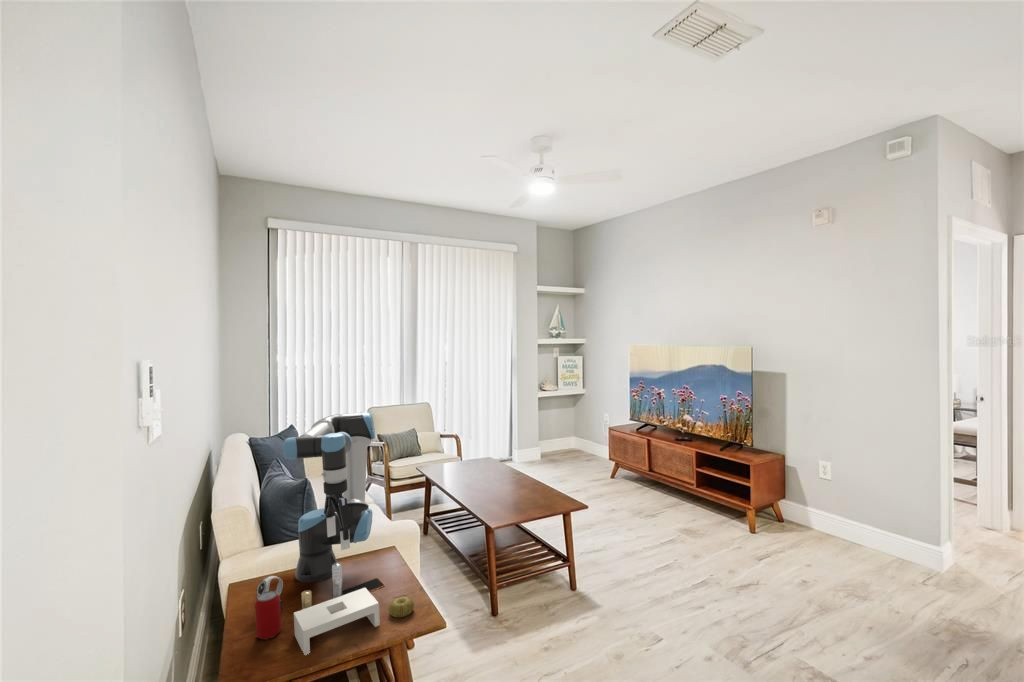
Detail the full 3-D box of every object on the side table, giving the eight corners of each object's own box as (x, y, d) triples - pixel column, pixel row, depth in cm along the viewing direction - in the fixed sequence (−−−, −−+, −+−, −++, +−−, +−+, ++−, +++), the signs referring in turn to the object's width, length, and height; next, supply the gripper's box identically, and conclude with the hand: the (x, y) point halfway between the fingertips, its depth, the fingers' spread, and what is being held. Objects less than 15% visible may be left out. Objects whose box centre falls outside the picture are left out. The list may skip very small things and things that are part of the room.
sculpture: (400, 591, 161) (418, 597, 157) (400, 603, 161) (419, 609, 157) (383, 604, 154) (402, 609, 150) (383, 616, 154) (403, 622, 150)
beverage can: (281, 625, 151) (279, 587, 151) (281, 636, 145) (279, 597, 145) (256, 632, 148) (254, 593, 148) (256, 644, 142) (254, 603, 142)
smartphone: (331, 596, 168) (331, 593, 168) (377, 579, 178) (377, 577, 178) (338, 605, 162) (338, 602, 162) (385, 587, 172) (385, 585, 172)
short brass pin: (301, 613, 157) (300, 592, 157) (311, 609, 159) (309, 588, 159) (303, 617, 155) (302, 595, 155) (313, 613, 157) (312, 592, 157)
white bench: (294, 635, 146) (293, 612, 145) (366, 608, 159) (365, 587, 159) (304, 655, 136) (303, 631, 136) (379, 625, 149) (378, 602, 149)
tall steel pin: (332, 602, 163) (330, 564, 163) (341, 599, 165) (339, 561, 165) (335, 605, 161) (333, 567, 161) (344, 602, 163) (342, 564, 163)
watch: (254, 614, 158) (253, 581, 158) (278, 602, 165) (276, 570, 165) (263, 619, 155) (261, 585, 155) (287, 607, 162) (285, 574, 161)
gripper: (312, 474, 170) (315, 533, 170) (336, 491, 150) (340, 558, 151) (333, 470, 174) (336, 527, 175) (360, 486, 155) (363, 550, 156)
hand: (338, 542), depth 163 cm, fingers open, 13 cm apart
